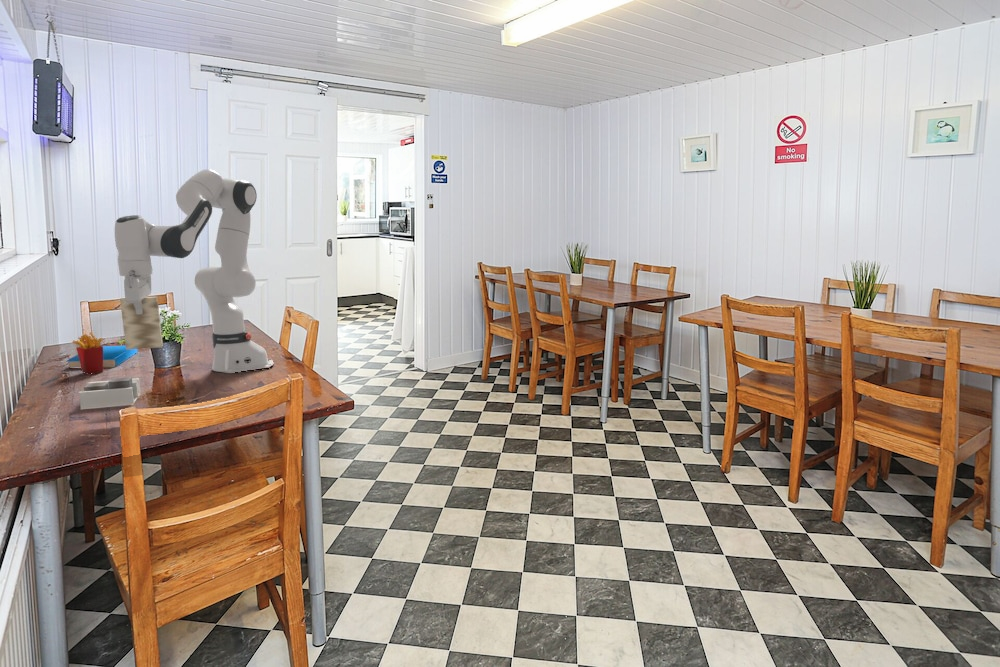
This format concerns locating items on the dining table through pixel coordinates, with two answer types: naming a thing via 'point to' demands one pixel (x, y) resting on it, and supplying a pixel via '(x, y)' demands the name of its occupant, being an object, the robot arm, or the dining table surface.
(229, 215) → the robot arm
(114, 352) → the book
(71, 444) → the dining table surface
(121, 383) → the offcut tall
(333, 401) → the dining table surface
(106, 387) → the offcut short
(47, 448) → the dining table surface
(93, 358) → the french fries
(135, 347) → the birch board
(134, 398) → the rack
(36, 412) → the dining table surface
